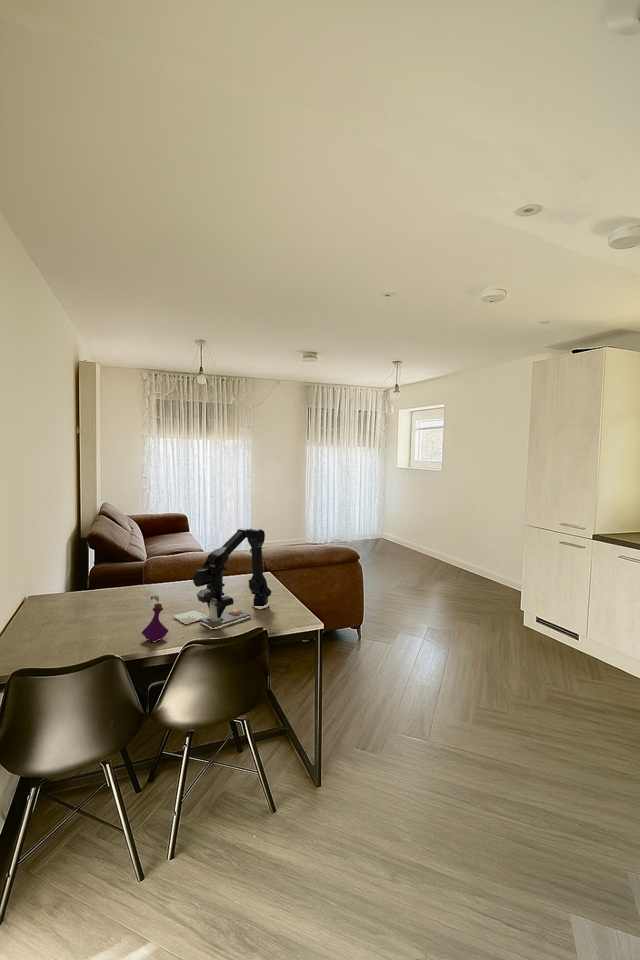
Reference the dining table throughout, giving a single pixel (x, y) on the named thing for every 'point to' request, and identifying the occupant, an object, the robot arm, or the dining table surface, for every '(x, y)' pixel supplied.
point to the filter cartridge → (213, 612)
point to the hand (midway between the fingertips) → (215, 616)
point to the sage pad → (190, 615)
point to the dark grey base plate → (225, 618)
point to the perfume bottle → (155, 624)
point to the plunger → (235, 612)
